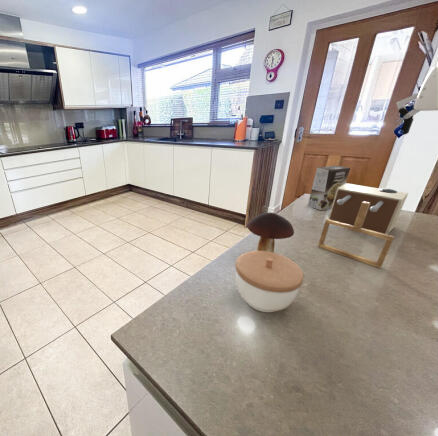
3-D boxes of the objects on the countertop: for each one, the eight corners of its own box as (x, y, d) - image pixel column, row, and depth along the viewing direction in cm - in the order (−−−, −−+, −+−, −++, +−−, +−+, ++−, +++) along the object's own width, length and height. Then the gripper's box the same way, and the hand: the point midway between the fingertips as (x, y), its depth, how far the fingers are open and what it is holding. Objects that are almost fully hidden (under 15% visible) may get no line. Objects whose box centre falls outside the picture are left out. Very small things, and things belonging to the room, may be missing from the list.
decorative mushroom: (240, 250, 71) (246, 204, 64) (280, 254, 68) (291, 206, 61) (243, 272, 61) (250, 221, 55) (290, 278, 58) (304, 224, 52)
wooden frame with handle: (381, 266, 60) (406, 209, 54) (379, 268, 60) (405, 211, 53) (319, 245, 71) (334, 195, 64) (317, 246, 70) (332, 196, 63)
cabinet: (393, 227, 78) (408, 193, 73) (378, 245, 69) (394, 208, 64) (336, 213, 90) (345, 183, 85) (317, 227, 81) (326, 194, 75)
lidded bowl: (286, 334, 44) (298, 289, 40) (222, 303, 52) (227, 263, 47) (300, 296, 53) (311, 255, 48) (243, 274, 60) (249, 237, 56)
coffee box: (321, 211, 92) (332, 170, 85) (306, 205, 98) (316, 167, 91) (339, 207, 94) (351, 167, 87) (324, 202, 100) (334, 164, 93)
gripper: (529, 49, 50) (486, 133, 57) (412, 65, 63) (389, 132, 70) (531, 46, 46) (485, 137, 53) (407, 63, 59) (383, 135, 66)
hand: (431, 134), depth 62 cm, fingers open, 9 cm apart
